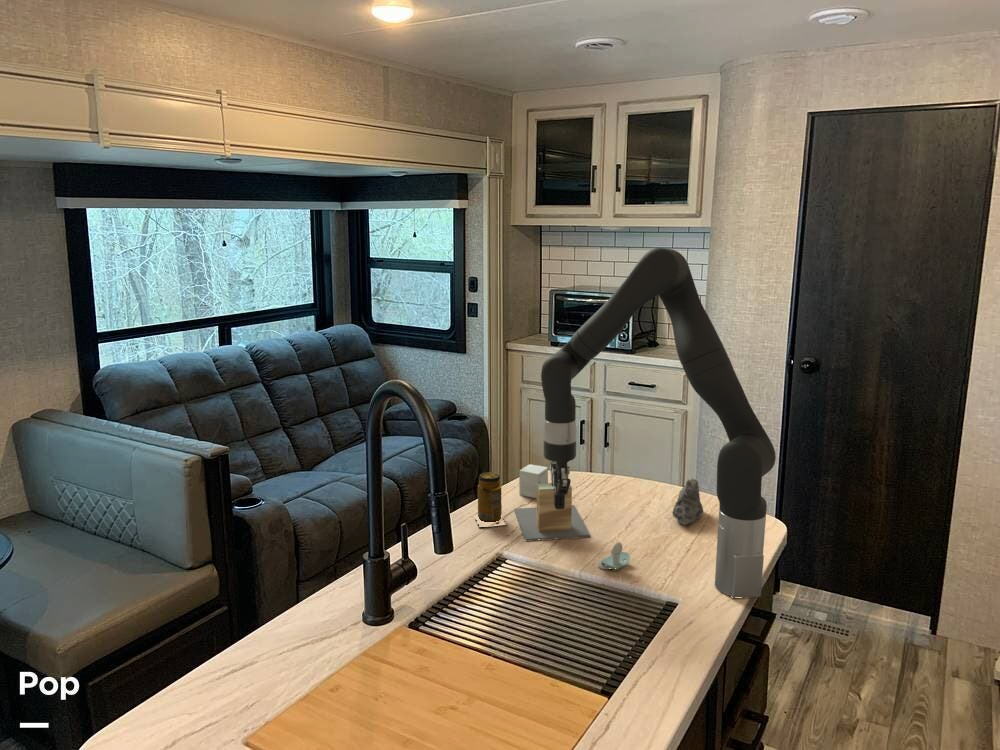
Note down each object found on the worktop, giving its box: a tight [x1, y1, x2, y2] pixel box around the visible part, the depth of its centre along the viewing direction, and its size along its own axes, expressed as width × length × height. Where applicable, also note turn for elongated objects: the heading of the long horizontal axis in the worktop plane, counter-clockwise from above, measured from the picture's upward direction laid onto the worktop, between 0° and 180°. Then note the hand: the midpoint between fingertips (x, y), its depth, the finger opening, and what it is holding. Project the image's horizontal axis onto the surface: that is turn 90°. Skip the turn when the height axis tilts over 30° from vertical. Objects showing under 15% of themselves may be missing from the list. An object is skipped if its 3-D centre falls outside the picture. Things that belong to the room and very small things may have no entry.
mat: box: [513, 504, 591, 541], centre depth 193 cm, size 18×16×1 cm
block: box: [536, 482, 573, 532], centre depth 188 cm, size 4×8×11 cm, turn 97°
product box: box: [518, 463, 549, 499], centre depth 211 cm, size 6×6×7 cm
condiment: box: [477, 471, 503, 522], centre depth 194 cm, size 7×8×12 cm
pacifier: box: [597, 541, 631, 570], centre depth 171 cm, size 7×6×6 cm
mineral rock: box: [672, 478, 705, 525], centre depth 195 cm, size 13×11×10 cm
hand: (559, 507), depth 180 cm, fingers closed
